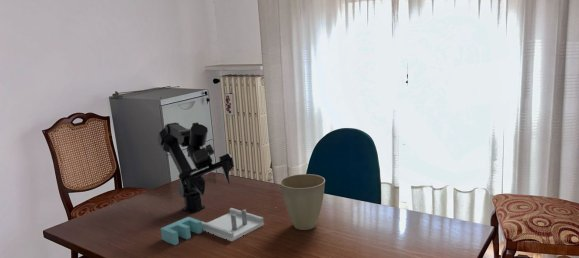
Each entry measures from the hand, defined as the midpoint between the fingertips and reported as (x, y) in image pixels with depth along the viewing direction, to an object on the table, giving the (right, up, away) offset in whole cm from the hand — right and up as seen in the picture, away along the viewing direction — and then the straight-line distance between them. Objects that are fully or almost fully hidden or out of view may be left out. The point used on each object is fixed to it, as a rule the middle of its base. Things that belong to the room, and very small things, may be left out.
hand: (216, 188), depth 149 cm
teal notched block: (-11, -16, +1) cm, 20 cm away
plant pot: (+29, -13, +4) cm, 32 cm away
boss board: (+4, -14, +6) cm, 16 cm away
